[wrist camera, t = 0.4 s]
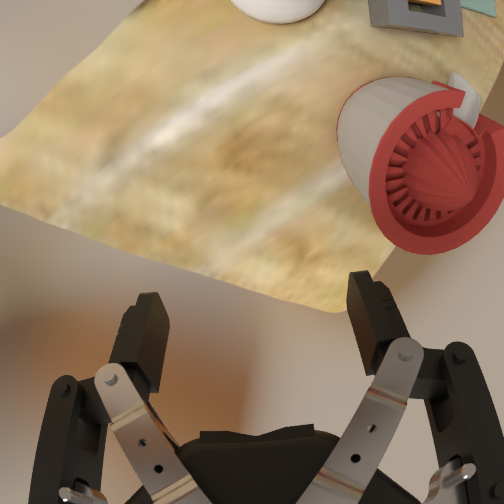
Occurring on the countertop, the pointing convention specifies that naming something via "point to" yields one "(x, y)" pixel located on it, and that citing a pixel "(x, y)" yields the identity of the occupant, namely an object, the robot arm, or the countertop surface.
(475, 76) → the countertop surface
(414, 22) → the kitting block
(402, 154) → the citrus juicer
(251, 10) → the flower in vase
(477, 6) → the mat
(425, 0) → the plank
